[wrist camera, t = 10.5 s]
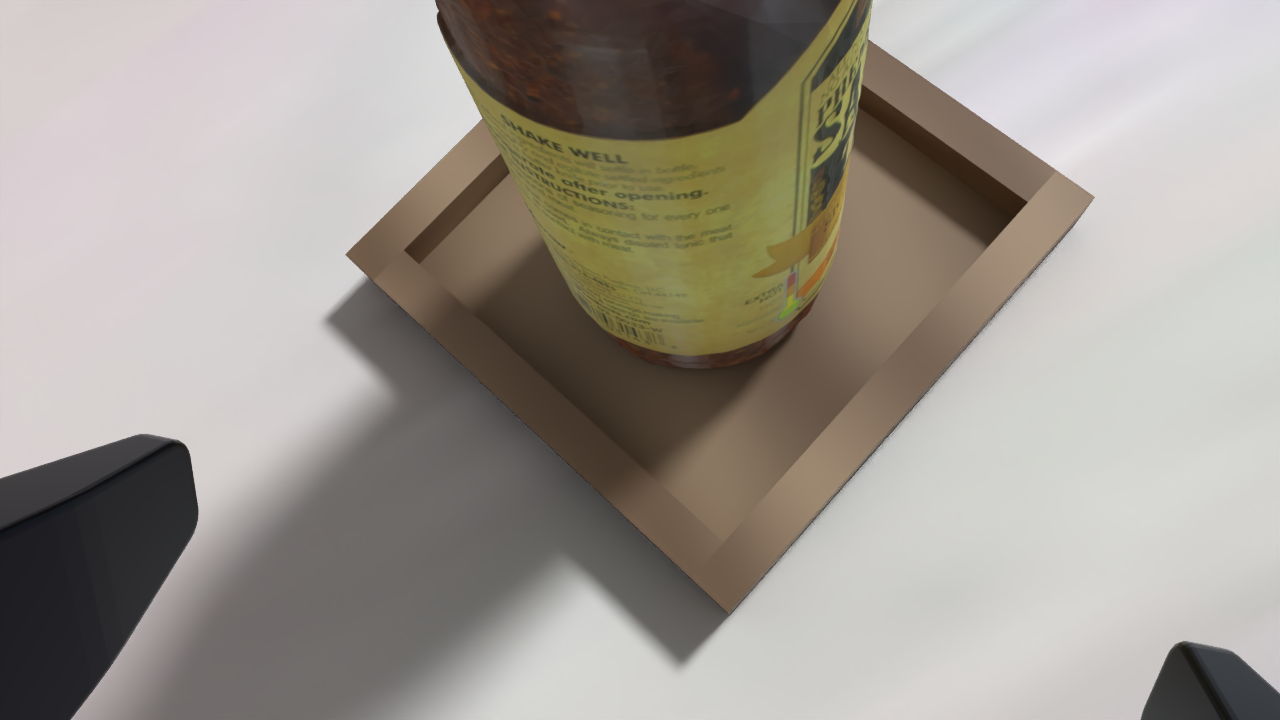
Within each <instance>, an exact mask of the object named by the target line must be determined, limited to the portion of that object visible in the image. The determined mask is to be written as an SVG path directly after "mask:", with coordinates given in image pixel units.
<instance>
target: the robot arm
mask: <svg viewBox="0 0 1280 720" xmlns="http://www.w3.org/2000/svg"><path fill="white" fill-rule="evenodd" d="M197 521H198V503H197V497H196V490H195V484H194V477H193V471H192V464H191V457H190V453H189V450H188V449H187V447H186V446H185V444H183V443H182V442H180V441H179V440H175V439H170V438H165V437H160V436H155V435H150V434H139V435H135V436H132V437H129V438H126V439H122V440H119V441H116V442H113V443H110V444H107V445H104V446H101V447H97V448H94V449H91V450H88V451H85V452H82V453H79V454H76V455H72V456H69V457H66V458H63V459H60V460H57V461H54V462H51V463H47V464H44V465H41V466H38V467H35V468H32V469H29V470H26V471H22V472H19V473H16V474H13V475H10V476H7V477H4V478H1V479H0V720H71V719H72V717H73V716H74V715H75V713H76V712H77V711H78V710H79V708H80V707H81V706H82V704H83V703H84V702H85V700H86V699H87V698H88V697H89V695H90V694H91V693H92V691H93V690H94V689H95V687H96V686H97V685H98V683H99V682H100V680H101V679H102V678H103V676H104V675H105V674H106V672H107V671H108V669H109V668H110V667H111V665H112V664H113V662H114V661H115V659H116V658H117V656H118V655H119V653H120V652H121V650H122V649H123V647H124V646H125V644H126V643H127V641H128V639H129V638H130V636H131V634H132V633H133V631H134V630H135V628H136V626H137V625H138V623H139V622H140V620H141V618H142V617H143V615H144V613H145V612H146V610H147V609H148V607H149V605H150V604H151V602H152V601H153V599H154V597H155V596H156V594H157V593H158V591H159V589H160V588H161V586H162V584H163V583H164V581H165V580H166V578H167V576H168V575H169V573H170V572H171V570H172V568H173V567H174V565H175V563H176V562H177V560H178V559H179V557H180V555H181V554H182V552H183V551H184V549H185V547H186V546H187V544H188V542H189V541H190V539H191V537H192V535H193V534H194V531H195V528H196V525H197ZM1141 720H1280V693H1279V692H1278V691H1277V690H1275V689H1274V688H1273V687H1272V686H1271V685H1270V684H1269V683H1268V682H1267V681H1265V680H1264V679H1263V678H1262V677H1261V676H1260V675H1259V674H1258V673H1257V672H1256V671H1254V670H1253V669H1252V668H1251V667H1250V666H1249V665H1248V664H1247V663H1246V662H1245V661H1243V660H1242V659H1241V658H1240V657H1239V656H1238V655H1236V654H1235V653H1234V652H1232V651H1230V650H1227V649H1223V648H1218V647H1213V646H1208V645H1203V644H1198V643H1193V642H1188V641H1183V642H1180V643H1177V644H1175V645H1174V646H1173V648H1172V649H1171V650H1170V652H1169V653H1168V655H1167V657H1166V660H1165V662H1164V664H1163V666H1162V669H1161V671H1160V673H1159V675H1158V678H1157V680H1156V682H1155V684H1154V687H1153V689H1152V691H1151V693H1150V696H1149V698H1148V700H1147V703H1146V705H1145V707H1144V710H1143V713H1142V717H1141Z"/></svg>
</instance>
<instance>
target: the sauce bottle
mask: <svg viewBox="0 0 1280 720" xmlns="http://www.w3.org/2000/svg"><path fill="white" fill-rule="evenodd" d="M872 1H873V0H435V2H436V5H437V8H438V10H439V12H438V13H437V23H438V25H439V28H440V30H441V33H442V36H443V38H444V41H445V43H446V45H447V47H448V49H449V51H450V53H451V55H452V57H453V59H454V61H455V63H456V65H457V67H458V69H459V71H460V73H461V75H462V77H463V79H464V81H465V83H466V85H467V87H468V89H469V91H470V93H471V95H472V97H473V100H474V102H475V104H476V106H477V108H478V110H479V112H480V114H481V116H482V118H483V120H484V121H485V123H486V125H487V127H488V129H489V131H490V133H491V135H492V137H493V139H494V141H495V143H496V145H497V147H498V149H499V151H500V153H501V155H502V157H503V159H504V161H505V163H506V165H507V167H508V169H509V171H510V173H511V175H512V177H513V179H514V181H515V183H516V185H517V187H518V189H519V191H520V194H521V196H522V198H523V200H524V202H525V204H526V205H527V207H528V209H529V211H530V213H531V215H532V217H533V219H534V221H535V223H536V225H537V227H538V229H539V231H540V233H541V236H542V238H543V240H544V242H545V244H546V245H547V247H548V249H549V251H550V253H551V255H552V257H553V259H554V261H555V263H556V265H557V267H558V269H559V270H560V272H561V274H562V276H563V278H564V279H565V281H566V283H567V285H568V287H569V289H570V290H571V292H572V294H573V296H574V297H575V298H576V300H577V301H578V302H579V303H580V305H581V306H582V307H583V309H584V310H585V311H586V312H587V314H588V315H589V316H591V317H592V318H593V319H594V320H595V321H596V323H597V324H598V325H599V327H600V328H602V329H603V330H604V331H606V332H607V333H608V334H609V335H610V336H611V337H612V338H613V339H615V340H616V341H617V342H618V343H619V344H620V345H621V346H622V347H625V348H626V349H627V350H628V352H630V353H631V354H633V355H635V356H637V357H639V358H641V359H643V360H645V361H647V362H649V363H651V364H659V365H664V366H668V367H673V368H687V369H695V370H701V369H705V370H711V369H714V368H718V367H728V366H734V365H737V364H740V363H743V362H746V361H749V360H751V359H753V358H755V357H758V356H760V355H761V354H763V353H765V352H766V351H767V350H769V349H770V348H772V347H774V346H775V345H776V344H778V343H779V342H780V341H781V340H783V339H784V338H785V337H786V335H787V334H788V333H789V332H791V331H792V330H793V328H794V327H795V326H796V324H797V323H798V322H799V321H801V320H802V319H803V318H804V317H806V316H807V314H808V313H809V312H810V310H811V308H812V306H813V304H814V302H815V300H816V298H817V296H818V293H819V290H820V289H821V287H822V284H823V282H824V280H825V278H826V276H827V274H828V272H829V270H830V268H831V266H832V263H833V260H834V257H835V253H836V250H837V244H838V238H839V231H840V224H841V218H842V212H843V206H844V199H845V191H846V184H847V176H848V169H849V162H850V156H851V150H852V147H853V144H854V129H855V122H856V115H857V112H858V101H859V98H860V94H861V87H862V82H863V78H864V67H865V62H866V58H867V54H868V30H869V23H870V16H871V9H872Z"/></svg>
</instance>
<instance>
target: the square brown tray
mask: <svg viewBox="0 0 1280 720" xmlns="http://www.w3.org/2000/svg"><path fill="white" fill-rule="evenodd" d="M1094 198H1095V197H1094V196H1093V195H1091V194H1090V193H1088V192H1087V191H1085V190H1084V189H1083V188H1081V187H1080V186H1078V185H1077V184H1075V183H1074V182H1073V181H1071V180H1070V179H1068V178H1067V177H1065V176H1064V175H1062V174H1061V173H1060V172H1058V171H1057V170H1055V169H1054V168H1052V167H1051V166H1050V165H1048V164H1047V163H1045V162H1044V161H1042V160H1041V159H1039V158H1038V157H1037V156H1035V155H1034V154H1032V153H1031V152H1029V151H1028V150H1027V149H1025V148H1024V147H1022V146H1021V145H1019V144H1018V143H1016V142H1015V141H1014V140H1012V139H1011V138H1009V137H1008V136H1006V135H1005V134H1004V133H1002V132H1001V131H999V130H998V129H996V128H995V127H993V126H992V125H991V124H989V123H988V122H986V121H985V120H983V119H982V118H981V117H979V116H978V115H976V114H975V113H973V112H972V111H970V110H969V109H968V108H966V107H965V106H963V105H962V104H960V103H959V102H957V101H956V100H955V99H953V98H952V97H950V96H949V95H947V94H946V93H945V92H943V91H942V90H940V89H939V88H937V87H936V86H934V85H933V84H932V83H930V82H929V81H927V80H926V79H924V78H923V77H922V76H920V75H919V74H917V73H916V72H914V71H913V70H911V69H910V68H909V67H907V66H906V65H904V64H903V63H901V62H900V61H899V60H897V59H896V58H894V57H893V56H891V55H890V54H888V53H887V52H886V51H884V50H883V49H881V48H880V47H878V46H877V45H876V44H874V43H873V42H871V41H870V40H868V54H867V58H866V62H865V67H864V78H863V82H862V87H861V94H860V98H859V101H858V112H857V115H856V122H855V129H854V144H853V147H852V150H851V156H850V162H849V169H848V176H847V184H846V191H845V199H844V206H843V212H842V218H841V224H840V231H839V238H838V244H837V250H836V253H835V257H834V260H833V263H832V266H831V268H830V270H829V272H828V274H827V276H826V278H825V280H824V282H823V284H822V287H821V289H820V290H819V293H818V296H817V298H816V300H815V302H814V304H813V306H812V308H811V310H810V312H809V313H808V314H807V316H806V317H804V318H803V319H802V320H801V321H799V322H798V323H797V324H796V326H795V327H794V328H793V330H792V331H791V332H789V333H788V334H787V335H786V337H785V338H784V339H783V340H781V341H780V342H779V343H778V344H776V345H775V346H774V347H772V348H770V349H769V350H767V351H766V352H765V353H763V354H761V355H760V356H758V357H755V358H753V359H751V360H749V361H746V362H743V363H740V364H737V365H734V366H728V367H718V368H714V369H711V370H705V369H701V370H695V369H687V368H673V367H668V366H664V365H659V364H651V363H649V362H647V361H645V360H643V359H641V358H639V357H637V356H635V355H633V354H631V353H630V352H628V350H627V349H626V348H625V347H622V346H621V345H620V344H619V343H618V342H617V341H616V340H615V339H613V338H612V337H611V336H610V335H609V334H608V333H607V332H606V331H604V330H603V329H602V328H600V327H599V325H598V324H597V323H596V321H595V320H594V319H593V318H592V317H591V316H589V315H588V314H587V312H586V311H585V310H584V309H583V307H582V306H581V305H580V303H579V302H578V301H577V300H576V298H575V297H574V296H573V294H572V292H571V290H570V289H569V287H568V285H567V283H566V281H565V279H564V278H563V276H562V274H561V272H560V270H559V269H558V267H557V265H556V263H555V261H554V259H553V257H552V255H551V253H550V251H549V249H548V247H547V245H546V244H545V242H544V240H543V238H542V236H541V233H540V231H539V229H538V227H537V225H536V223H535V221H534V219H533V217H532V215H531V213H530V211H529V209H528V207H527V205H526V204H525V202H524V200H523V198H522V196H521V194H520V191H519V189H518V187H517V185H516V183H515V181H514V179H513V177H512V175H511V173H510V171H509V169H508V167H507V165H506V163H505V161H504V159H503V157H502V155H501V153H500V151H499V149H498V147H497V145H496V143H495V141H494V139H493V137H492V135H491V133H490V131H489V129H488V127H487V125H486V123H485V121H484V120H483V119H482V120H481V121H480V122H479V123H478V124H477V125H476V126H475V127H474V128H473V129H472V130H471V131H470V132H469V133H468V134H467V135H466V136H465V137H464V138H463V139H462V140H461V141H460V142H459V143H458V144H457V145H455V146H454V147H453V148H452V149H451V150H450V151H449V152H448V153H447V154H446V155H445V156H444V157H443V158H442V159H441V160H440V161H439V162H438V163H437V164H436V165H435V166H434V167H433V168H432V169H431V170H430V171H429V172H428V173H427V174H426V175H425V176H424V177H423V178H422V179H421V180H420V181H419V182H418V183H417V184H416V185H415V186H414V187H413V188H412V189H411V190H410V191H409V192H408V193H407V194H406V195H405V196H404V197H403V198H402V199H401V200H400V201H399V202H398V203H397V204H396V205H395V206H394V207H393V208H392V209H391V210H390V211H389V212H388V213H387V214H386V215H385V216H384V217H383V218H382V219H381V220H380V221H379V222H378V223H377V224H376V225H375V226H374V227H373V228H372V229H371V230H370V231H369V232H368V233H367V234H366V235H365V236H364V237H363V238H362V239H361V240H360V241H359V242H358V243H356V244H355V245H354V246H353V247H352V248H351V249H350V250H349V251H348V252H347V253H346V254H345V255H346V256H347V257H348V258H349V259H350V260H351V261H352V262H353V263H354V264H356V265H357V266H358V267H359V268H360V269H361V270H362V271H363V272H364V273H365V274H366V275H367V276H368V277H369V278H370V279H371V280H372V281H373V282H374V283H376V284H377V285H378V286H379V287H380V288H381V289H382V290H383V291H384V292H385V293H386V294H387V295H388V296H389V297H390V298H392V299H393V300H394V301H395V302H396V303H397V304H398V305H399V306H400V307H401V308H402V309H403V310H404V311H405V312H407V313H408V314H409V315H410V316H411V317H412V318H413V319H414V320H415V321H416V322H417V323H418V324H419V325H420V326H421V327H423V328H424V329H425V330H426V331H427V332H428V333H429V334H430V335H431V336H432V337H433V338H434V339H435V340H436V341H437V342H439V343H440V344H441V345H442V346H443V347H444V348H445V349H446V350H447V351H448V352H449V353H450V354H451V355H452V356H454V357H455V358H456V359H457V360H458V361H459V362H460V363H461V364H462V365H463V366H464V367H465V368H466V369H467V370H468V371H470V372H471V373H472V374H473V375H474V376H475V377H476V378H477V379H478V380H479V381H480V382H481V383H482V384H483V385H485V386H486V387H487V388H488V389H489V390H490V391H491V392H492V393H493V394H494V395H495V396H496V397H497V398H498V399H499V400H501V401H502V402H503V403H504V404H505V405H506V406H507V407H508V408H509V409H510V410H511V411H512V412H513V413H514V414H516V415H517V416H518V417H519V418H520V419H521V420H522V421H523V422H524V423H525V424H526V425H527V426H528V427H529V428H530V429H532V430H533V431H534V432H535V433H536V434H537V435H538V436H539V437H540V438H541V439H542V440H543V441H544V442H545V443H547V444H548V445H549V446H550V447H551V448H552V449H553V450H554V451H555V452H556V453H557V454H558V455H559V456H560V457H561V458H563V459H564V460H565V461H566V462H567V463H568V464H569V465H570V466H571V467H572V468H573V469H574V470H575V471H576V472H577V473H579V474H580V475H581V476H582V477H583V478H584V479H585V480H586V481H587V482H588V483H589V484H590V485H591V486H592V487H594V488H595V489H596V490H597V491H598V492H599V493H600V494H601V495H602V496H603V497H604V498H605V499H606V500H607V501H608V502H610V503H611V504H612V505H613V506H614V507H615V508H616V509H617V510H618V511H619V512H620V513H621V514H622V515H623V516H625V517H626V518H627V519H628V520H629V521H630V522H631V523H632V524H633V525H634V526H635V527H636V528H637V529H638V530H639V531H641V532H642V533H643V534H644V535H645V536H646V537H647V538H648V539H649V540H650V541H651V542H652V543H653V544H654V545H656V546H657V547H658V548H659V549H660V550H661V551H662V552H663V553H664V554H665V555H666V556H667V557H668V558H669V559H670V560H672V561H673V562H674V563H675V564H676V565H677V566H678V567H679V568H680V569H681V570H682V571H683V572H684V573H685V574H687V575H688V576H689V577H690V578H691V579H692V580H693V581H694V582H695V583H696V584H697V585H698V586H699V587H700V588H701V589H703V590H704V591H705V592H706V593H707V594H708V595H709V596H710V597H711V598H712V599H713V600H714V601H715V602H716V603H717V604H719V605H720V606H721V607H722V608H723V609H724V610H725V611H726V612H727V613H728V614H729V615H731V613H732V612H733V611H734V610H735V609H736V608H737V607H738V605H739V604H740V603H741V602H742V601H743V600H744V599H745V598H746V596H747V595H748V594H749V593H750V592H751V591H752V590H753V588H754V587H755V586H756V585H757V584H758V583H759V582H760V581H761V579H762V578H763V577H764V576H765V575H766V574H767V573H768V571H769V570H770V569H771V568H772V567H773V566H774V565H775V564H776V562H777V561H778V560H779V559H780V558H781V557H782V556H783V555H784V553H785V552H786V551H787V550H788V549H789V548H790V547H791V545H792V544H793V543H794V542H795V541H796V540H797V539H798V538H799V536H800V535H801V534H802V533H803V532H804V531H805V530H806V528H807V527H808V526H809V525H810V524H811V523H812V522H813V521H814V519H815V518H816V517H817V516H818V515H819V514H820V513H821V511H822V510H823V509H824V508H825V507H826V506H827V505H828V504H829V502H830V501H831V500H832V499H833V498H834V497H835V496H836V494H837V493H838V492H839V491H840V490H841V489H842V488H843V487H844V485H845V484H846V483H847V482H848V481H849V480H850V479H851V477H852V476H853V475H854V474H855V473H856V472H857V471H858V470H859V468H860V467H861V466H862V465H863V464H864V463H865V462H866V461H867V459H868V458H869V457H870V456H871V455H872V454H873V453H874V451H875V450H876V449H877V448H878V447H879V446H880V445H881V444H882V442H883V441H884V440H885V439H886V438H887V437H888V436H889V434H890V433H891V432H892V431H893V430H894V429H895V428H896V427H897V425H898V424H899V423H900V422H901V421H902V420H903V419H904V417H905V416H906V415H907V414H908V413H909V412H910V411H911V410H912V408H913V407H914V406H915V405H916V404H917V403H918V402H919V400H920V399H921V398H922V397H923V396H924V395H925V394H926V393H927V391H928V390H929V389H930V388H931V387H932V386H933V385H934V383H935V382H936V381H937V380H938V379H939V378H940V377H941V376H942V374H943V373H944V372H945V371H946V370H947V369H948V368H949V367H950V365H951V364H952V363H953V362H954V361H955V360H956V359H957V357H958V356H959V355H960V354H961V353H962V352H963V351H964V350H965V348H966V347H967V346H968V345H969V344H970V343H971V342H972V340H973V339H974V338H975V337H976V336H977V335H978V334H979V333H980V331H981V330H982V329H983V328H984V327H985V326H986V325H987V323H988V322H989V321H990V320H991V319H992V318H993V317H994V316H995V314H996V313H997V312H998V311H999V310H1000V309H1001V308H1002V306H1003V305H1004V304H1005V303H1006V302H1007V301H1008V300H1009V299H1010V297H1011V296H1012V295H1013V294H1014V293H1015V292H1016V291H1017V289H1018V288H1019V287H1020V286H1021V285H1022V284H1023V283H1024V282H1025V280H1026V279H1027V278H1028V277H1029V276H1030V275H1031V274H1032V273H1033V271H1034V270H1035V269H1036V268H1037V267H1038V266H1039V265H1040V263H1041V262H1042V261H1043V260H1044V259H1045V258H1046V257H1047V256H1048V254H1049V253H1050V252H1051V251H1052V250H1053V249H1054V248H1055V246H1056V245H1057V244H1058V243H1059V242H1060V241H1061V240H1062V239H1063V237H1064V236H1065V235H1066V234H1067V233H1068V232H1069V231H1070V229H1071V228H1072V227H1073V226H1074V225H1075V224H1076V222H1077V221H1078V220H1079V218H1080V217H1081V215H1082V214H1083V213H1084V211H1085V210H1086V209H1087V207H1088V206H1089V205H1090V203H1091V202H1092V201H1093V199H1094Z"/></svg>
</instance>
